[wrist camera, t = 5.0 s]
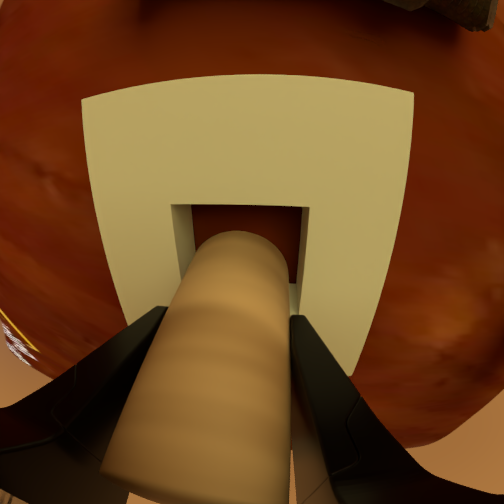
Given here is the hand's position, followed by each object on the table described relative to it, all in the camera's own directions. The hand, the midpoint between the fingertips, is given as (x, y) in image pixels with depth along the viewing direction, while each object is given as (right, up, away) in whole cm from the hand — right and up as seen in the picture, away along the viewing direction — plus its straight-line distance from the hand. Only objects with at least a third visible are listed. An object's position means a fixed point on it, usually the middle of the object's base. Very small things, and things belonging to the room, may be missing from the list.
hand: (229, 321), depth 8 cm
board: (0, +3, +5) cm, 6 cm away
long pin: (0, +1, +2) cm, 2 cm away
